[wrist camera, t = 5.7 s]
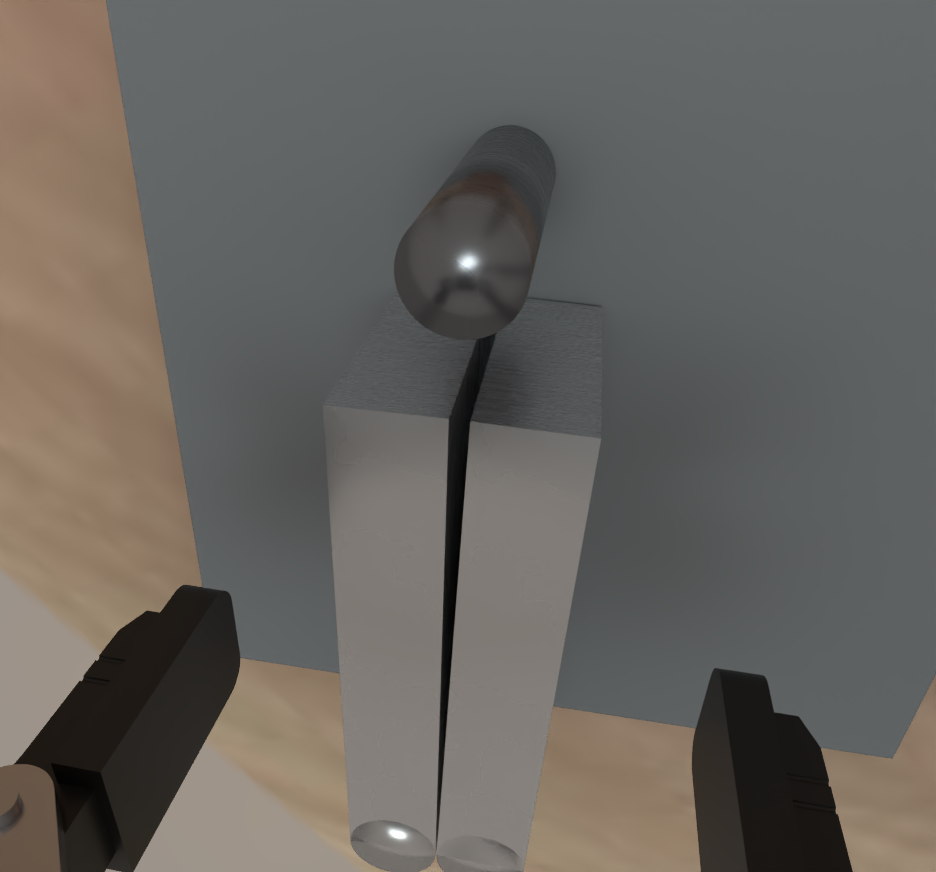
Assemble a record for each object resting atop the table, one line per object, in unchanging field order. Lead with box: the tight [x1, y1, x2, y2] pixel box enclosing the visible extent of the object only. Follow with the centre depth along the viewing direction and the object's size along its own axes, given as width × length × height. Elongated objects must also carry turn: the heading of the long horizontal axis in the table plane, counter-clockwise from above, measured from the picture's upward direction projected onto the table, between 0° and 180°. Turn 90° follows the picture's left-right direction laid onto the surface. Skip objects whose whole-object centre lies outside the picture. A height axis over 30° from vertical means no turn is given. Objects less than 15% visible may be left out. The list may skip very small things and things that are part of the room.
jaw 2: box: [437, 298, 602, 872], centre depth 17 cm, size 12×2×6 cm, turn 176°
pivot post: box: [394, 125, 556, 340], centre depth 13 cm, size 2×2×6 cm
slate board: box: [106, 0, 936, 759], centre depth 17 cm, size 20×24×1 cm
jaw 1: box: [323, 291, 490, 872], centre depth 18 cm, size 12×2×6 cm, turn 177°
